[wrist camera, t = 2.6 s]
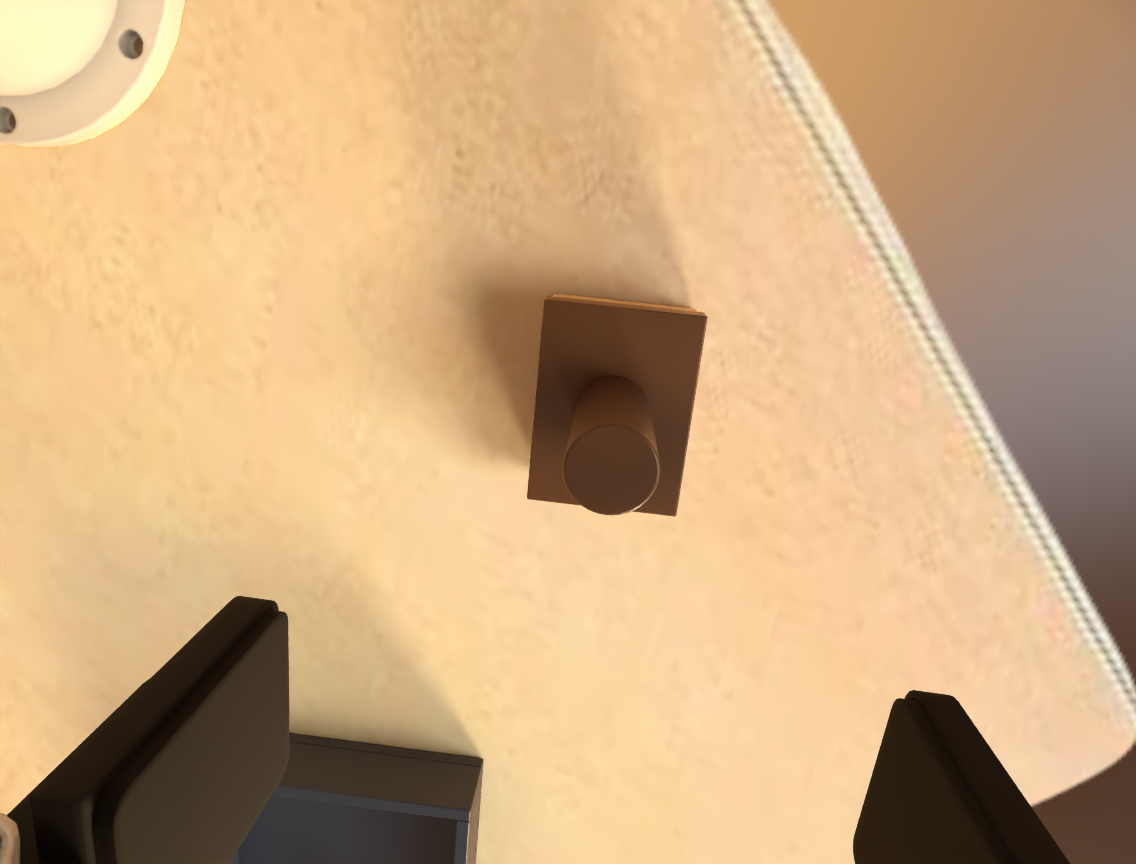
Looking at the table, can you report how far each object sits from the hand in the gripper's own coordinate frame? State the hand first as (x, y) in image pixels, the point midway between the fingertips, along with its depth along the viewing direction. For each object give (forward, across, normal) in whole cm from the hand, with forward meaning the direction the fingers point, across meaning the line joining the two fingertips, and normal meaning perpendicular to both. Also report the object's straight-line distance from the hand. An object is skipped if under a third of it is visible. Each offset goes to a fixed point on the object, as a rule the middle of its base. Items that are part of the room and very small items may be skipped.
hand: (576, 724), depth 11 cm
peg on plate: (+17, 0, -1) cm, 17 cm away
